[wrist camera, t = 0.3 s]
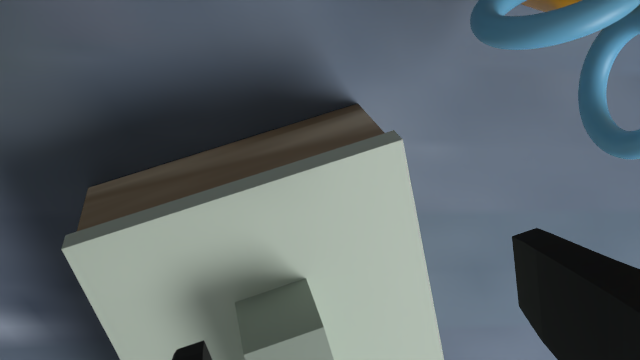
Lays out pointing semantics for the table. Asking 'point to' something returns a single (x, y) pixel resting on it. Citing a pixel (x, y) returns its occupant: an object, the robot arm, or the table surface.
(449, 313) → the table surface
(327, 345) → the lid
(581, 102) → the yellow post with rings
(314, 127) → the crate
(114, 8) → the table surface
